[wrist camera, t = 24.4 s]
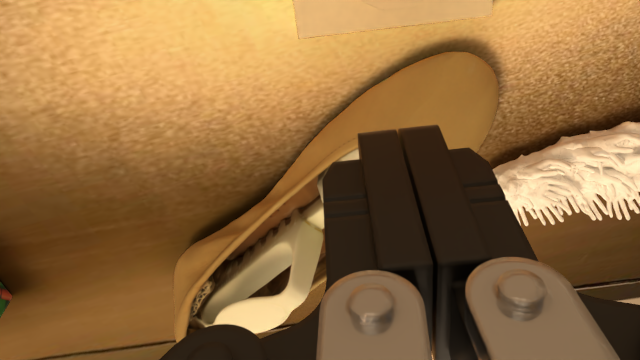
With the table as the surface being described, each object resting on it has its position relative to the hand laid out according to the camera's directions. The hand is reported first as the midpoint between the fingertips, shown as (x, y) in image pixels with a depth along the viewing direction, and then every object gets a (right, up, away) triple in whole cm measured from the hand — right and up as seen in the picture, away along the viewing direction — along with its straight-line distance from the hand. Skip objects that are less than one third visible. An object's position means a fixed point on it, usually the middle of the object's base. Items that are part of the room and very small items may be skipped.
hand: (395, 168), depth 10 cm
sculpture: (+23, +2, +30) cm, 38 cm away
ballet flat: (-2, -1, +32) cm, 32 cm away
